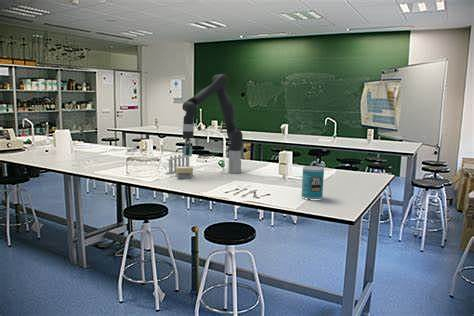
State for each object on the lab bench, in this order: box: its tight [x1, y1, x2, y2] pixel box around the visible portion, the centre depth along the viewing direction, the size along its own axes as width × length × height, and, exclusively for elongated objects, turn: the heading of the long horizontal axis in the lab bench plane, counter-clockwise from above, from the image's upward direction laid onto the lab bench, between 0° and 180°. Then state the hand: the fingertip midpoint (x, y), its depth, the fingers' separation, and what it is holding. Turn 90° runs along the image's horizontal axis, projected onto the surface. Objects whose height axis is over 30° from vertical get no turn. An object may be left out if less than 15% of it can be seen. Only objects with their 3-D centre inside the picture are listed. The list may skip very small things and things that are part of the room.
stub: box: [182, 145, 193, 157], centre depth 262 cm, size 6×5×6 cm
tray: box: [177, 173, 192, 180], centre depth 263 cm, size 9×9×2 cm
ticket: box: [175, 166, 194, 177], centre depth 270 cm, size 12×5×6 cm, turn 99°
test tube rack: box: [165, 153, 192, 175], centre depth 283 cm, size 25×4×13 cm, turn 147°
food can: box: [301, 165, 325, 200], centre depth 216 cm, size 12×12×18 cm
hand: (187, 154), depth 262 cm, fingers closed on stub, 5 cm apart
